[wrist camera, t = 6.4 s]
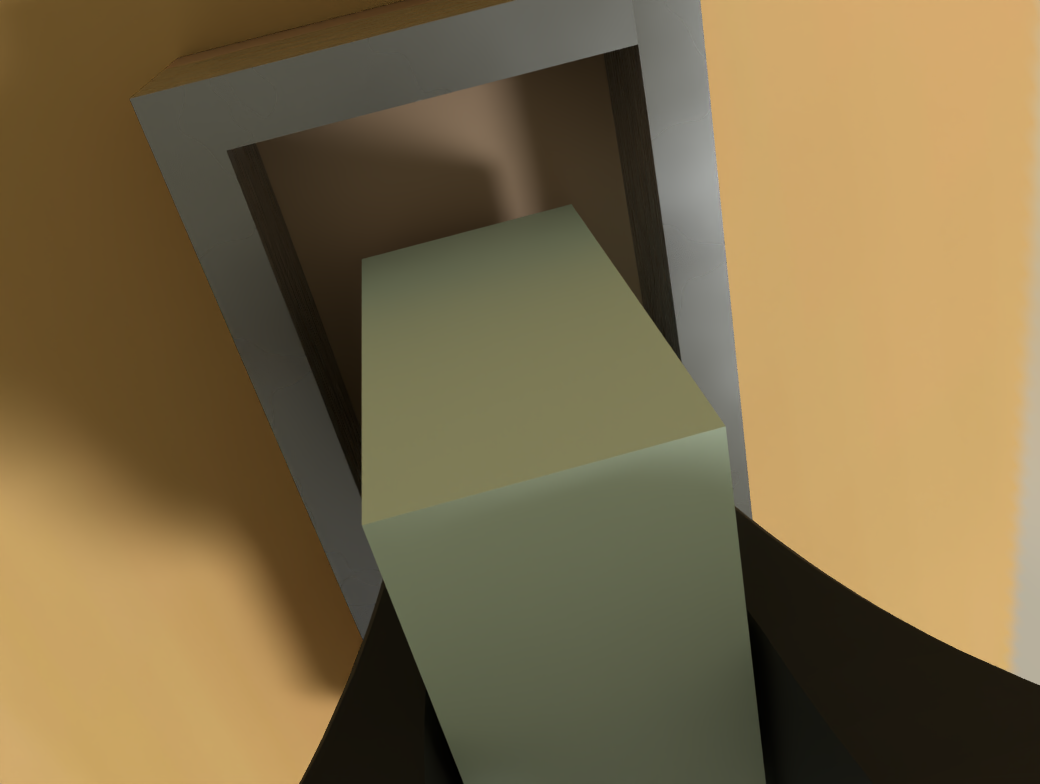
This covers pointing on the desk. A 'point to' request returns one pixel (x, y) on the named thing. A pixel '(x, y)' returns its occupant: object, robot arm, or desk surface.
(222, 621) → the desk surface
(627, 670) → the pale green rectangular block
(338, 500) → the grey rectangular tray
